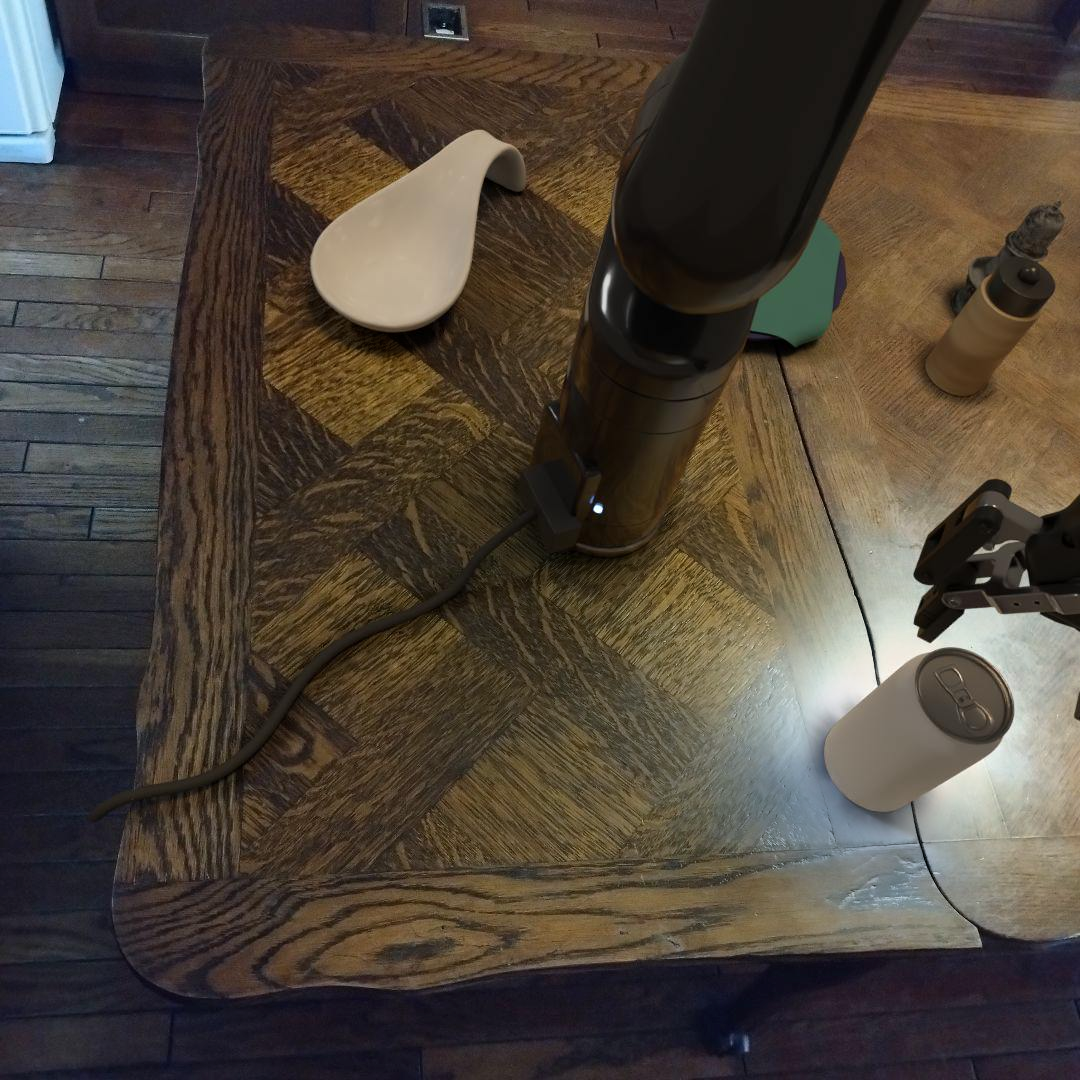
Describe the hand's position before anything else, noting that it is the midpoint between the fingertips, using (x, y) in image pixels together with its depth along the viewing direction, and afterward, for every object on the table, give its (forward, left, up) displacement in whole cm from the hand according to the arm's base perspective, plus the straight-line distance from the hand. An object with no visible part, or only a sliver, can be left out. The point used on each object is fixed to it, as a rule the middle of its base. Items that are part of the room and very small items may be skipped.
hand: (1004, 666), depth 50 cm
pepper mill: (+27, +26, -16) cm, 40 cm away
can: (0, 0, -16) cm, 16 cm away
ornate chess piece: (+34, +31, -16) cm, 48 cm away
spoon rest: (-11, +50, -16) cm, 54 cm away
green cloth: (+17, +46, -16) cm, 51 cm away
